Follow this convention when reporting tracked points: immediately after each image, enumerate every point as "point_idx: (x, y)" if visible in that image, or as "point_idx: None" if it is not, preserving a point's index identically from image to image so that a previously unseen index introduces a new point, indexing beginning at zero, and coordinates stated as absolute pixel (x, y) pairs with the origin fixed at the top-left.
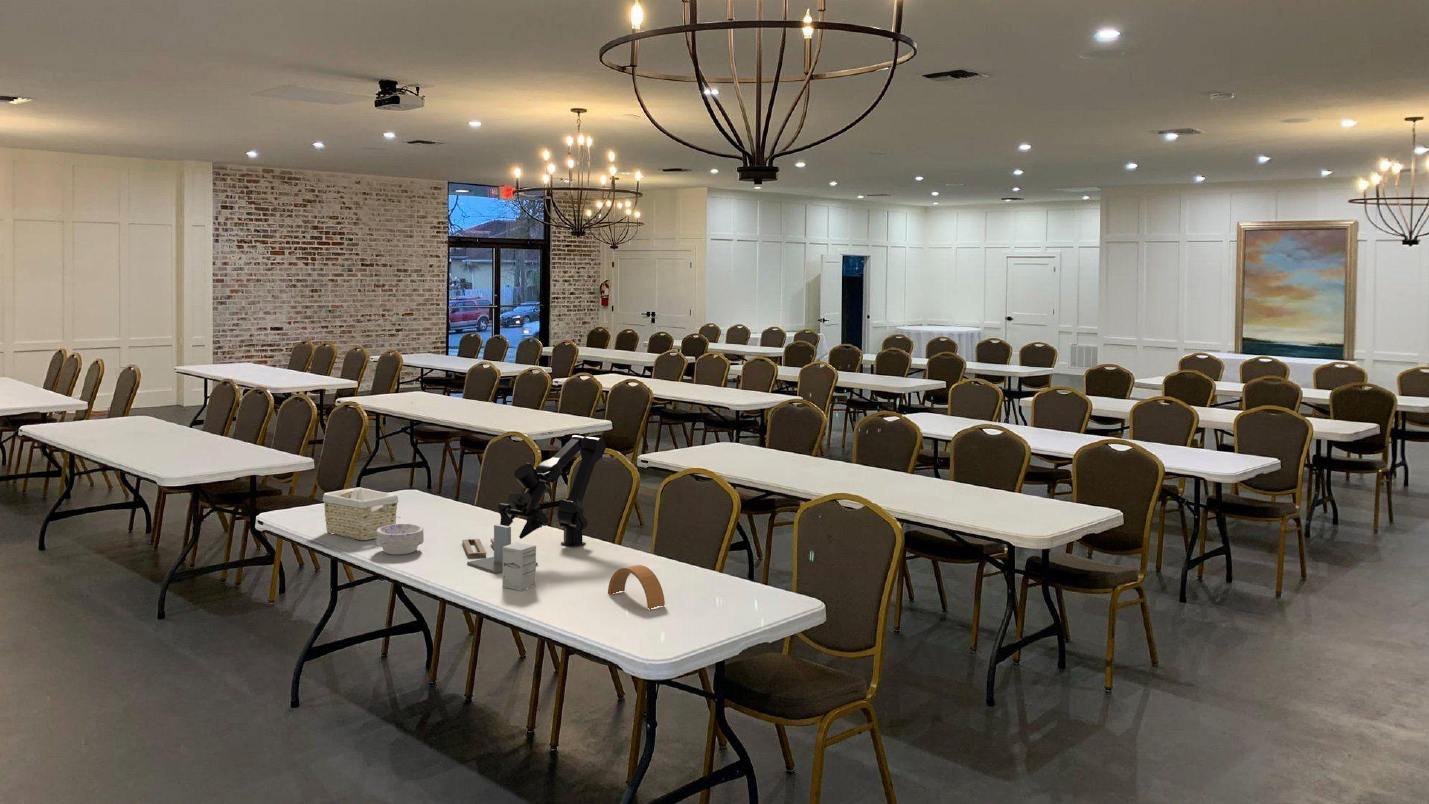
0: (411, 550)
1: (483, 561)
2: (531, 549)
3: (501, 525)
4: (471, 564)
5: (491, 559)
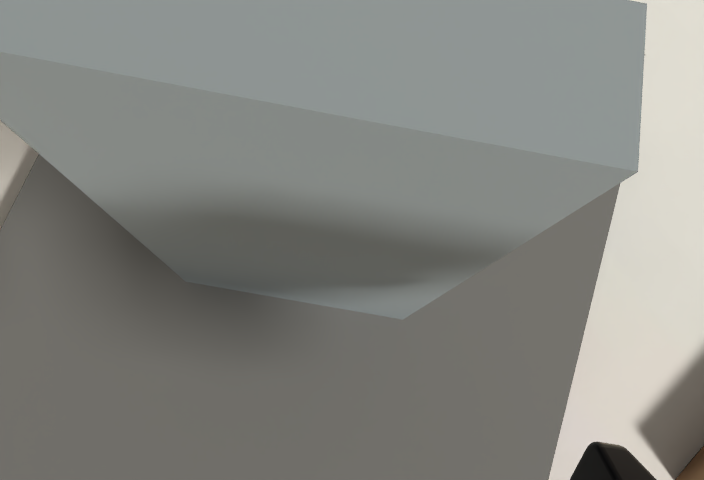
0: None
1: None
2: None
3: (374, 65)
4: None
5: (491, 323)
